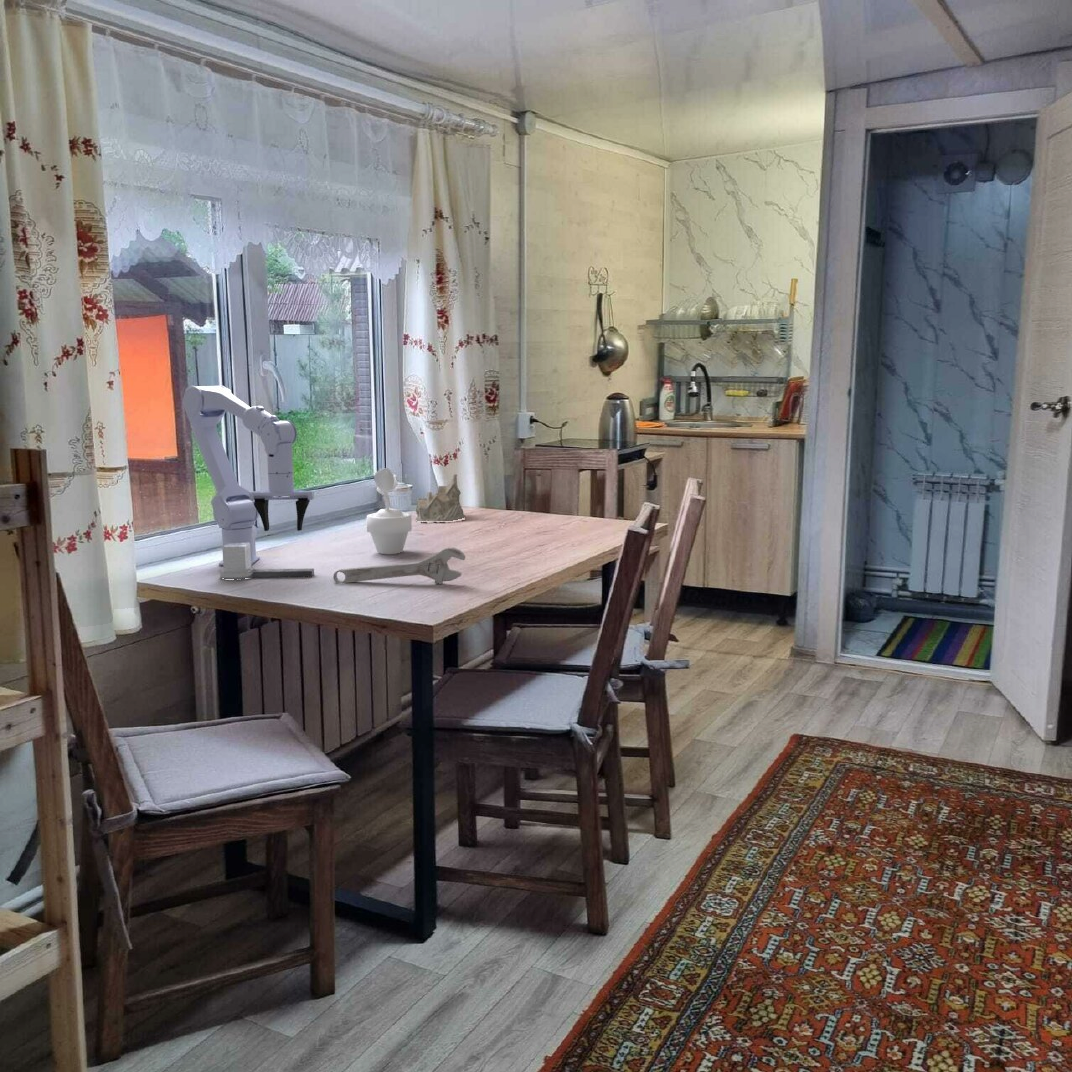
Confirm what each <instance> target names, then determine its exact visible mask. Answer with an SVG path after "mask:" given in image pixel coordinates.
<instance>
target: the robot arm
mask: <svg viewBox="0 0 1072 1072" xmlns="http://www.w3.org/2000/svg"><path fill="white" fill-rule="evenodd" d="M181 403H182V406H183V407H184V411H185V413H186V416H187V419H188V420H189V423H190V428H191V430H192V434H193V436H194V439H195V440H196V441H195V442H196V443H197V445H198V448H199V451H200V454H201V456H202V459H203V461H204V464H205V467H206V469H207V471H208V473H209V476H210V479H211V481H212V483H213V484H212V485H213V486H214V488H215V492H216V493H215V494H214V496H213V497H212V499H211V500H210V501H211V502H210V504H211V506H212V507H211V508H212V510H213V513H212V514H213V519H214V521H215V523H216V524H217V526H218V527H219V529H221V539H222V541H221V542H222V547H223V546H224V545H226V544H227V543H250V551H251V566H252V565H253V564H254V563H255V562H257V561H259V559H260V558H261V556H260V555H257V553H256V551H257V549H256V548H257V546H256V534H255V531H254V529H253V526H255V523H256V521H257V519H259V517H260V520H261V522H262V523H261V524H262V526H263V531H264V532H268V531H269V530H270V519H269V503H270V501H271V500H272V501H273V500H274V501H276V500H277V501H279V500H280V501H281V500H284V501H285V500H295V507H296V517H297V518H296V528H297V529H296V530H297V531H298V532H299V531H302V530H303V522H304V518H305V514H306V511H307V508H308V506H309V504H310V502H311V501H312V500H314V499H315V498H314V490H299V489H298V490H297V489H296V490H295V483H294V462H293V461H294V460H293V445H294V443H295V441H297V438H298V431H297V428H296V426H295V424H294V423H293V422H292V421H291V420H290V419H284V420H280V419H279V418H278V416H277V415H272V414H271V413H269V412H268V411H266V410H265V407H263V406H262V405H252V406H251V407H250V405H248V404H247V403H245V402H244V401H242V400H241V399H239V397H237V396H235V394H233V393H232V390H231V389H229V388H227V387H226V386H224V385H222V384H221V385H220V384H219V385H217V384H216V385H207V386H206V385H202V386H195V385H190V386H188V387H187V388H186V389H185V390H184V394H183V398H182V402H181ZM226 412H228V413H229V414H231V415H233V416H235V417H237V418H239V419H240V420H242V424H243V426H244V427H245V428H246V429H248V430H249V431H251V432H252V433H254V434H256V435H257V436H259V437H260V439H261V442H262V443H263V446H264V451H265V454H266V455H267V456H266V457H267V458H266V460H267V474H268V475H267V477H268V480H267V481H268V482H267V483H268V490H254V491H253V490H251V491H249V490H248V489H246V488H244V487H243V486H241V485H239V483H238V480H237V477H236V475H235V472H234V470H233V467H232V465H231V463H230V459H229V457H228V455H227V453H226V449H225V448H224V445H223V443H222V440H221V438H220V435H219V432H218V429H217V424H219V423H220V422H221V421H222V419H223V417H224V415H225V414H226ZM218 566H223V560H221V561H220V562H218Z"/></svg>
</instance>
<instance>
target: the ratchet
mask: <svg viewBox="0 0 1072 1072" xmlns="http://www.w3.org/2000/svg"><path fill="white" fill-rule="evenodd" d="M314 576H315V568H257V569H256V568H254V567H251V569H250V570H249V571H248V572H246V573H224V569H221V570H220V571H219V578H224V579H234V580H237V579H245V578H252V579H280V578H281V579H285V578H286V579H289V578H292V579H293V578H295V579H296V578H297V579H298V578H313V577H314ZM237 581H238V580H237Z"/></svg>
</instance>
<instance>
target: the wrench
mask: <svg viewBox="0 0 1072 1072" xmlns="http://www.w3.org/2000/svg"><path fill="white" fill-rule="evenodd" d="M452 558H454V559H457V560H458V559H459V560H461V561H465V560H466V554H465V553H464V552H463V551H462V550H460V549H459V548H457V547H450V546H449V547H445V548H443V549H442V550H440V551H439V552H437V553H435V554H434V555H432V556H429V557H428V558H425V559H423V560H420V561H414V562H405V563H394V564H384V565H372V566H362V567H361V566H360V567H351V568H350V567H349V568H341V569H338V570H336V571H335V572H334V573H333V575H332V577H333V580H334V582H335V583H337V584H340V583H341V584H348V583H357V582H364V581H373V580H385V579H391V578H393V579H394V578H401V577H414V576H422V577H426V578H429V579H432V580H434V584H435V583H439V584H438V585H440V584H441V585H442V584H443V582H451V581H454V580H456V579H458V578H459V577H461V576H462V574H463V573H462V571H459V570H456V569H450V567H449V565H448V561H449V560H450V559H452ZM338 573H343V574H344V580H340V579H339V578H338Z"/></svg>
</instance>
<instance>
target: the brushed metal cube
mask: <svg viewBox="0 0 1072 1072" xmlns="http://www.w3.org/2000/svg"><path fill="white" fill-rule="evenodd" d="M221 549H222V561H223V565H222V566H223V570H224V573H246V572H248V571H249V570H250V569H251V568H252V565H251V551H250V543H227V544H226V545H224V546H223V545H222V547H221Z"/></svg>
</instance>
